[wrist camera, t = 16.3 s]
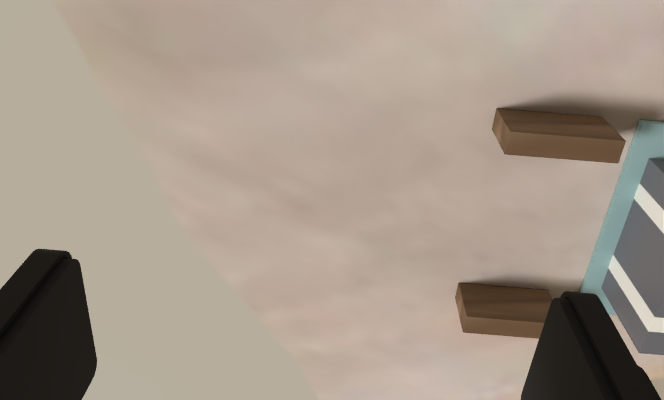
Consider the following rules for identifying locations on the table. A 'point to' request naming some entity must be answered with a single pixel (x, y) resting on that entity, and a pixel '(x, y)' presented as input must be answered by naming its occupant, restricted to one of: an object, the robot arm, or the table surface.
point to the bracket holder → (537, 141)
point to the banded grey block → (641, 265)
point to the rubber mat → (623, 204)
